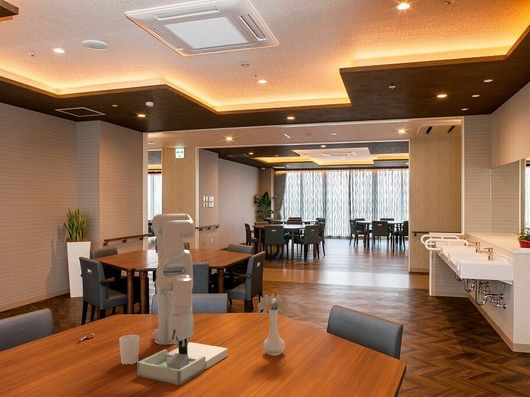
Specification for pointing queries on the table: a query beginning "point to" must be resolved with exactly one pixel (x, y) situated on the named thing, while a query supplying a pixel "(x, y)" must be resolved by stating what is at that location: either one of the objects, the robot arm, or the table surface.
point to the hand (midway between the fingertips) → (183, 355)
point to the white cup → (129, 349)
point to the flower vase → (273, 322)
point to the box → (169, 369)
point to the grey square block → (178, 361)
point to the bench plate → (203, 353)
